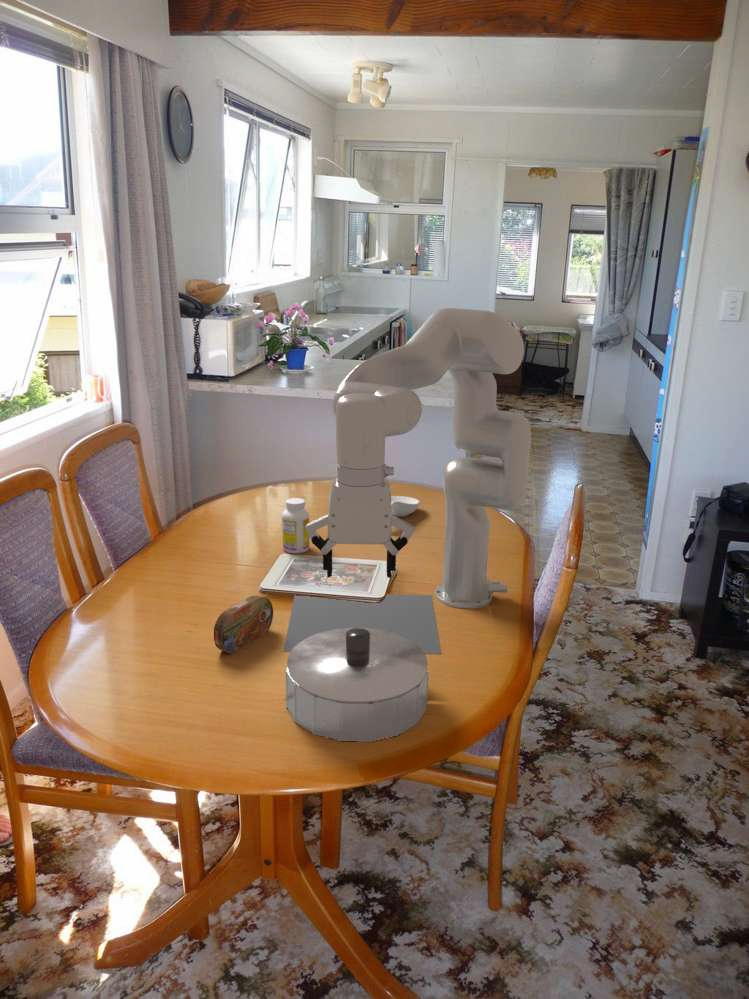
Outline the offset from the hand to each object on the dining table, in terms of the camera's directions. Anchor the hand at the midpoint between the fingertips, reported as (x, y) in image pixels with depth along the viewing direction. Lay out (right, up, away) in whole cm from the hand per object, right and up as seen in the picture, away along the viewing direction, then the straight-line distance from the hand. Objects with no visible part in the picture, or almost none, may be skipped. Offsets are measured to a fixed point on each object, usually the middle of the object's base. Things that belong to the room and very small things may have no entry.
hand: (359, 574), depth 133 cm
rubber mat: (0, -13, +35) cm, 37 cm away
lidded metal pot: (-1, -22, +8) cm, 24 cm away
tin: (-23, -16, +26) cm, 38 cm away
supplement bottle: (-17, -1, +72) cm, 74 cm away
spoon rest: (+8, +6, +94) cm, 94 cm away
